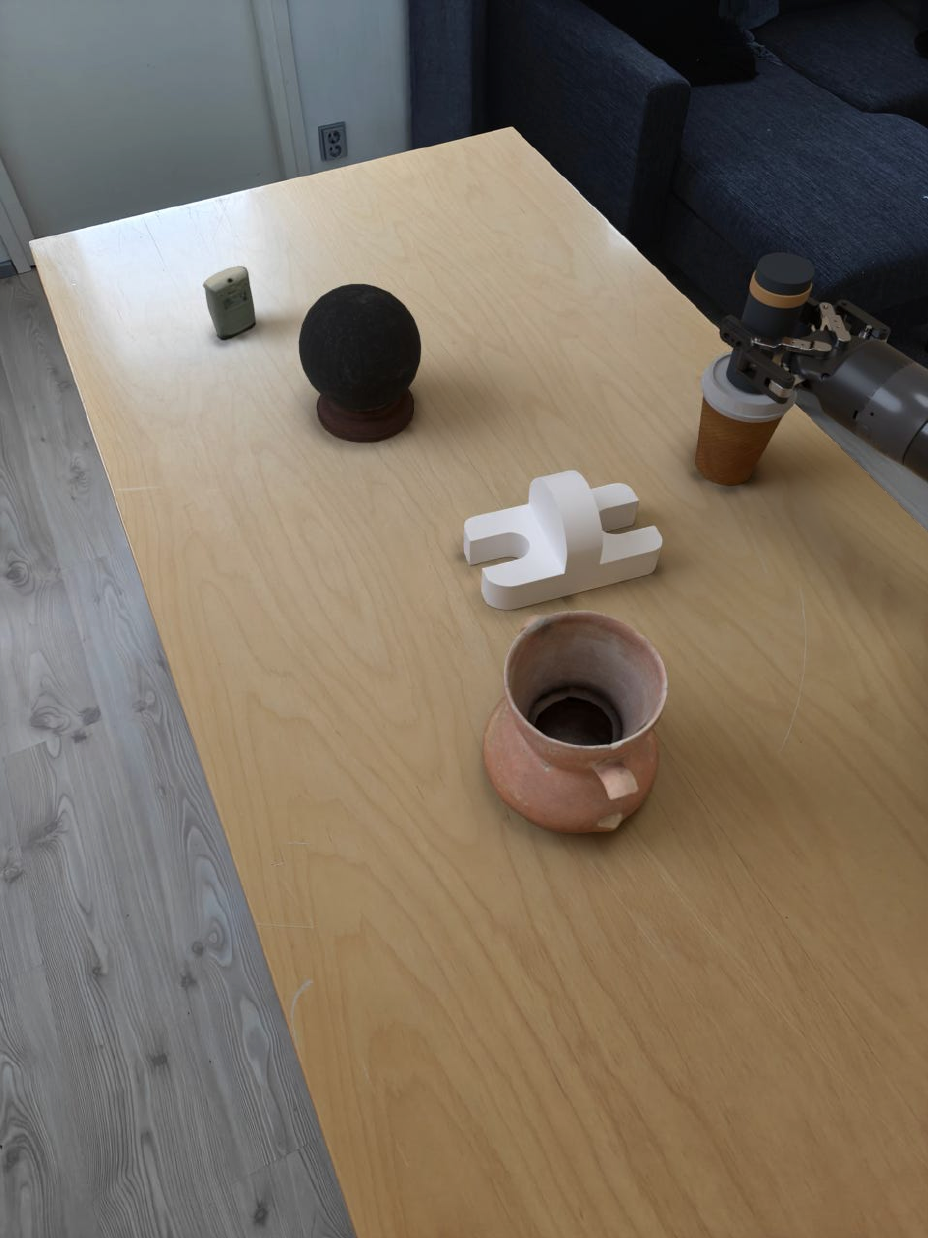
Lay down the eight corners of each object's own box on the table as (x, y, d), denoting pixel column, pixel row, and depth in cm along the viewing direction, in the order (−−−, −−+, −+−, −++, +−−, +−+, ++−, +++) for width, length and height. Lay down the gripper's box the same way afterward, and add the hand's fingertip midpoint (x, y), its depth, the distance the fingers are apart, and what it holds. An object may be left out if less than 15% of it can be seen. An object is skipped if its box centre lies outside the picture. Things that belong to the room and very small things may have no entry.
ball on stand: (443, 394, 108) (442, 279, 97) (386, 463, 101) (378, 348, 89) (347, 360, 112) (335, 246, 100) (286, 425, 105) (264, 309, 93)
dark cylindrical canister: (769, 359, 94) (806, 250, 84) (785, 392, 91) (824, 283, 81) (718, 361, 94) (749, 251, 84) (732, 395, 90) (765, 285, 81)
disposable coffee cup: (663, 451, 103) (685, 362, 93) (731, 426, 106) (760, 337, 96) (714, 507, 98) (743, 419, 88) (785, 478, 101) (821, 390, 91)
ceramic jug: (687, 831, 76) (728, 745, 64) (520, 883, 73) (533, 802, 61) (601, 658, 86) (623, 558, 75) (452, 698, 83) (452, 599, 72)
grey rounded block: (245, 348, 113) (232, 290, 107) (205, 340, 114) (191, 282, 108) (263, 321, 117) (252, 263, 110) (224, 314, 117) (211, 256, 111)
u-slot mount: (491, 615, 89) (495, 546, 81) (459, 544, 94) (460, 473, 86) (661, 571, 92) (680, 501, 85) (621, 505, 98) (636, 433, 90)
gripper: (962, 338, 80) (818, 250, 88) (850, 399, 75) (708, 299, 83) (926, 407, 86) (794, 318, 94) (820, 467, 81) (690, 368, 89)
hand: (754, 310), depth 88 cm, fingers open, 7 cm apart
